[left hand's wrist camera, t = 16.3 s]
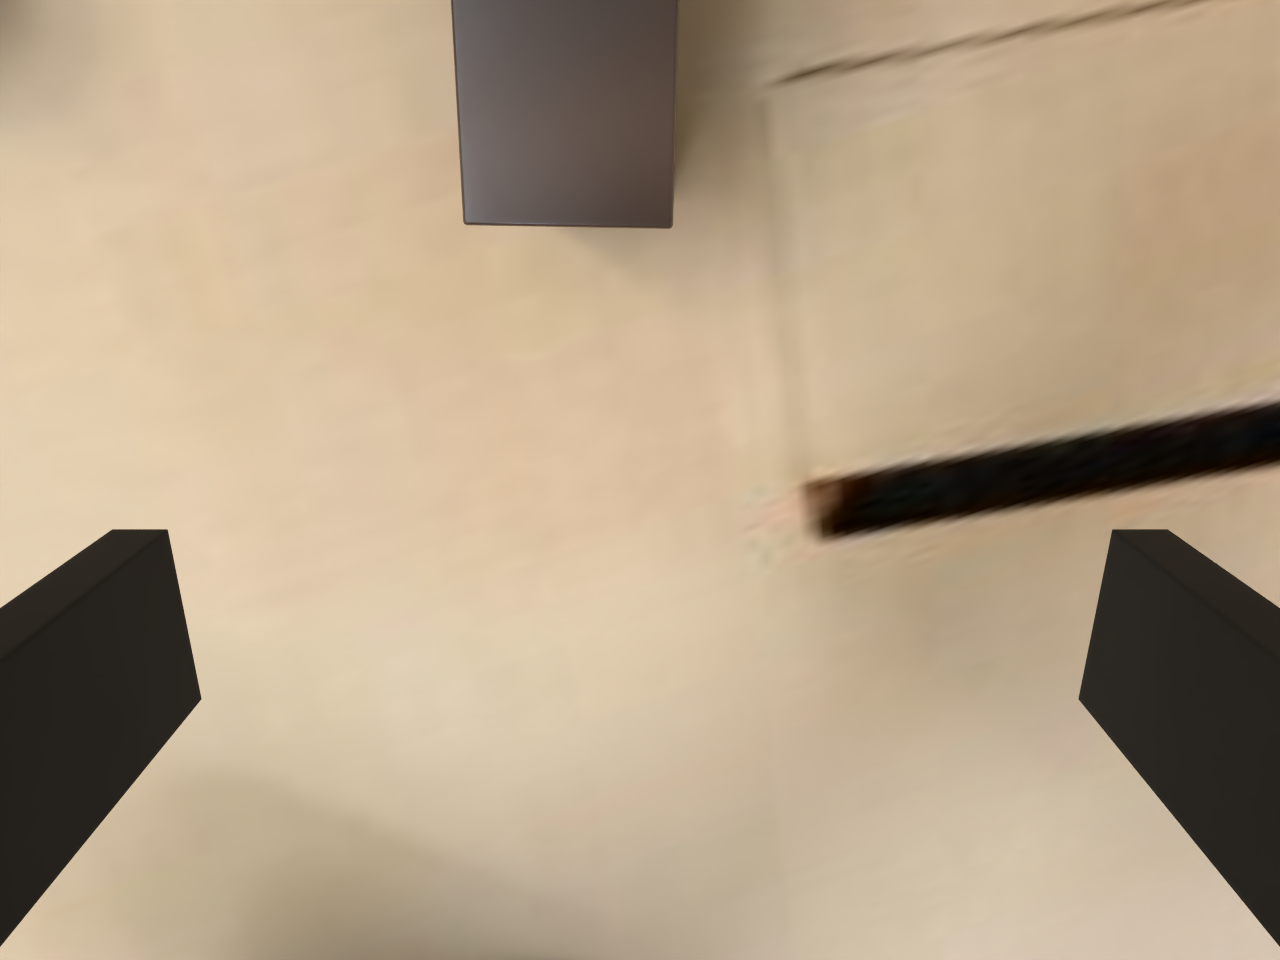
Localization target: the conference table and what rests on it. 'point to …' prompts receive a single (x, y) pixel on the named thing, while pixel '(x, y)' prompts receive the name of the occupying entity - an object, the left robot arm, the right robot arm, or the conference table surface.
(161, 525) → the conference table surface
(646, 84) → the plank
